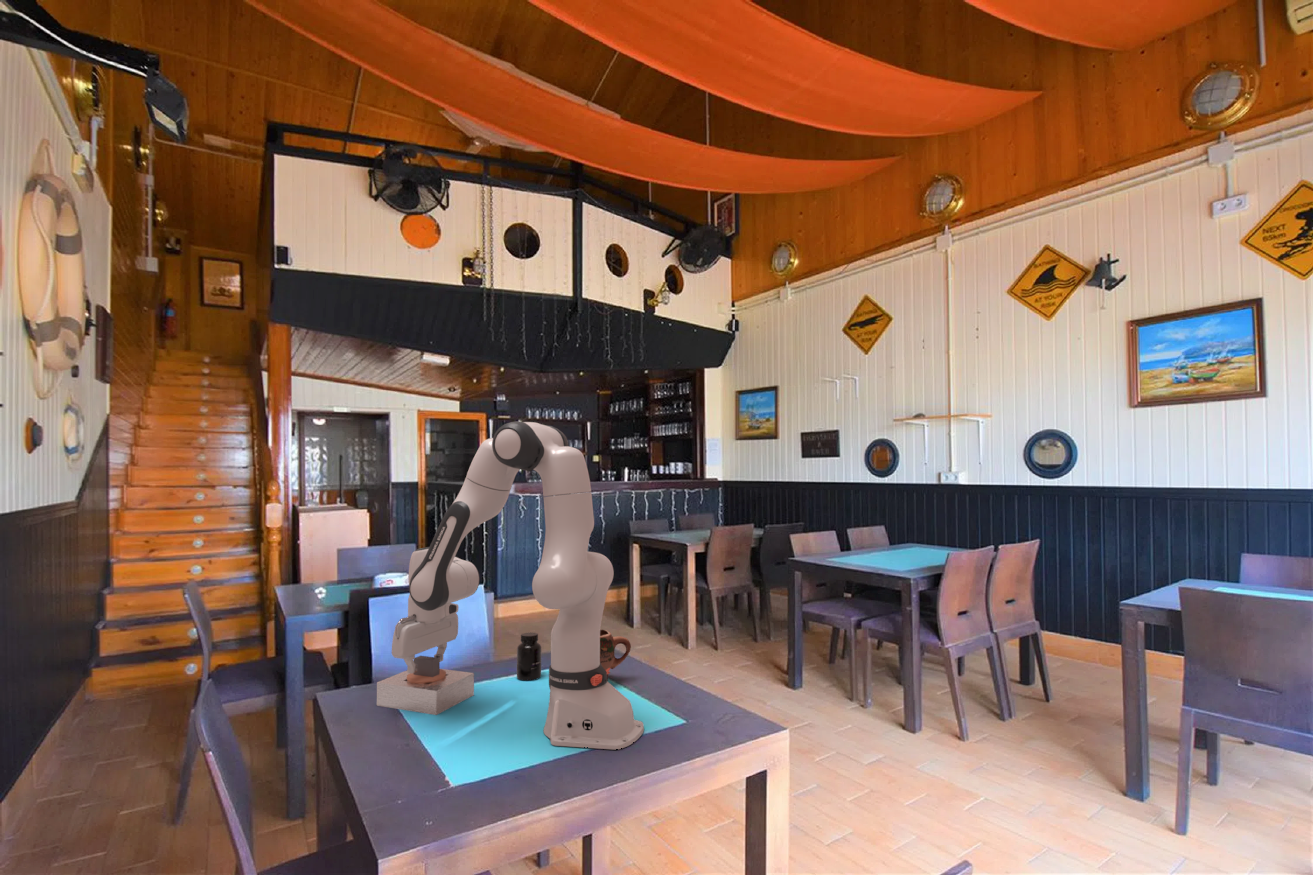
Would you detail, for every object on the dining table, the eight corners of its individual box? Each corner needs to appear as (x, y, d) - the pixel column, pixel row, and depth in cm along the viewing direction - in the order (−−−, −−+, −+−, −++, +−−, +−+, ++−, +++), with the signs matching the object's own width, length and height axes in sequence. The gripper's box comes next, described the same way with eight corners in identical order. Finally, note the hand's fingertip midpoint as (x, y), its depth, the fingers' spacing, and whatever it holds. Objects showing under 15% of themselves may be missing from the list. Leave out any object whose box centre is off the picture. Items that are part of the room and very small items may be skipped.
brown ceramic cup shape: (622, 671, 185) (622, 622, 186) (637, 684, 174) (637, 632, 175) (554, 681, 177) (554, 630, 178) (565, 695, 166) (565, 640, 167)
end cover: (453, 696, 162) (453, 654, 162) (428, 708, 153) (428, 665, 154) (424, 691, 165) (424, 651, 166) (398, 704, 157) (398, 661, 157)
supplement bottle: (538, 681, 177) (538, 637, 178) (514, 681, 178) (514, 637, 178) (543, 673, 184) (543, 631, 185) (519, 673, 184) (520, 631, 185)
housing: (473, 700, 163) (473, 672, 163) (436, 721, 149) (436, 690, 150) (417, 692, 169) (417, 665, 169) (376, 711, 156) (376, 682, 156)
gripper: (406, 621, 150) (405, 681, 149) (462, 603, 169) (462, 657, 168) (385, 618, 152) (384, 678, 151) (443, 602, 171) (442, 654, 170)
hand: (425, 666), depth 160 cm, fingers open, 8 cm apart
